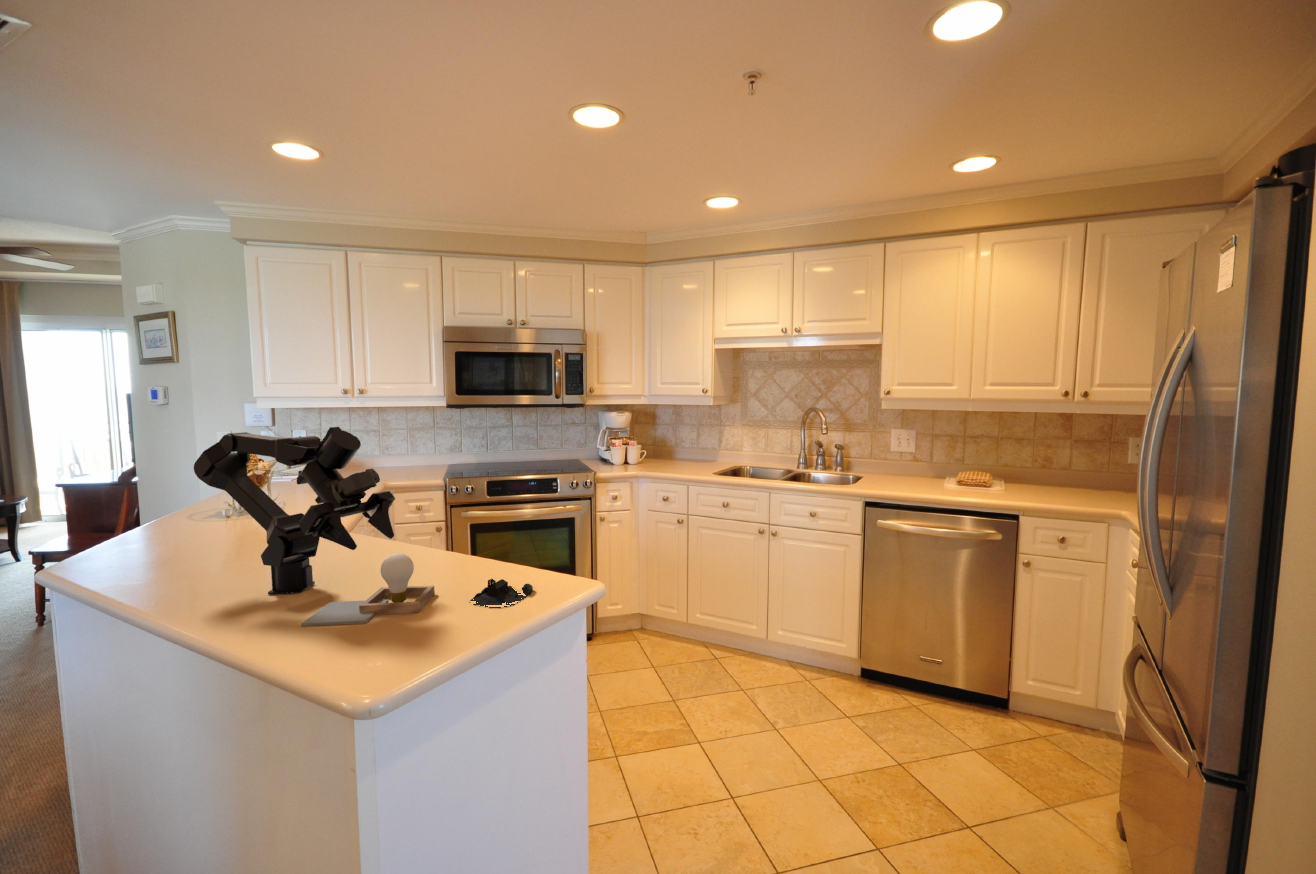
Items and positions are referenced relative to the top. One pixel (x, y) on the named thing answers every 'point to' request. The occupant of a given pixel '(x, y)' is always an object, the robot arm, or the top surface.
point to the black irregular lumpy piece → (500, 594)
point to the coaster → (340, 614)
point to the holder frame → (398, 607)
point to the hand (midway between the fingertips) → (374, 542)
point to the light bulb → (397, 575)
